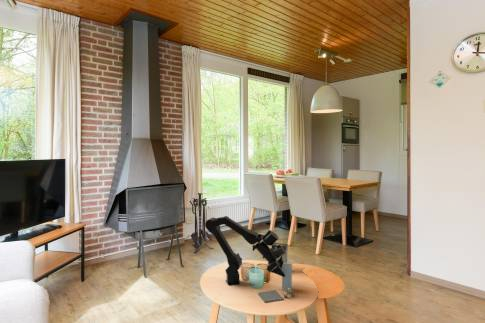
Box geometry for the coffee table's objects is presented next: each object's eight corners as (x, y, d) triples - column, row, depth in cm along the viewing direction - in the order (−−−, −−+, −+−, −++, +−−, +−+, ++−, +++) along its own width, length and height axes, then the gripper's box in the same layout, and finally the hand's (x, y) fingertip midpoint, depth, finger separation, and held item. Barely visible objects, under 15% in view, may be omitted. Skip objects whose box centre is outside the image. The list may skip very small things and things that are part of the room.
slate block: (282, 290, 160) (282, 265, 160) (283, 286, 165) (283, 262, 164) (290, 291, 159) (290, 266, 159) (291, 287, 163) (291, 263, 163)
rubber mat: (264, 302, 146) (264, 301, 146) (257, 293, 156) (257, 292, 156) (283, 299, 149) (283, 298, 149) (275, 291, 159) (275, 290, 159)
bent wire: (284, 298, 151) (284, 293, 151) (280, 293, 156) (280, 288, 156) (295, 297, 152) (295, 291, 152) (290, 292, 157) (290, 287, 157)
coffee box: (270, 270, 187) (271, 244, 187) (273, 267, 193) (273, 242, 193) (285, 272, 184) (285, 246, 184) (287, 269, 190) (287, 243, 190)
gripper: (273, 246, 154) (294, 269, 151) (278, 237, 172) (298, 257, 169) (258, 260, 156) (279, 283, 153) (264, 249, 174) (284, 270, 171)
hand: (285, 273), depth 162 cm, fingers open, 9 cm apart
